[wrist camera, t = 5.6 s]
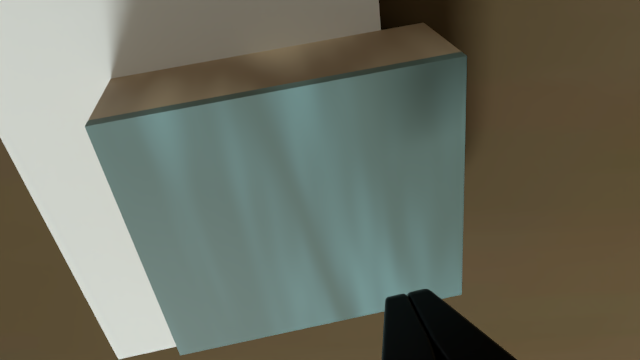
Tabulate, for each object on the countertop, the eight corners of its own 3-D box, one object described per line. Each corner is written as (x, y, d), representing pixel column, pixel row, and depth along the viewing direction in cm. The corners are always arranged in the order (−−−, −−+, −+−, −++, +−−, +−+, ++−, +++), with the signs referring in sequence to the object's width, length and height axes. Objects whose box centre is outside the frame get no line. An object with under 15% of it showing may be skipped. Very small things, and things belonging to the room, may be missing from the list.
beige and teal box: (466, 55, 11) (84, 126, 10) (461, 294, 15) (180, 355, 14) (423, 22, 13) (110, 78, 13) (428, 234, 17) (186, 285, 16)
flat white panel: (368, -78, 12) (373, -76, 12) (396, 287, 19) (401, 296, 18) (-61, -4, 12) (-72, 1, 11) (120, 347, 18) (118, 359, 18)
